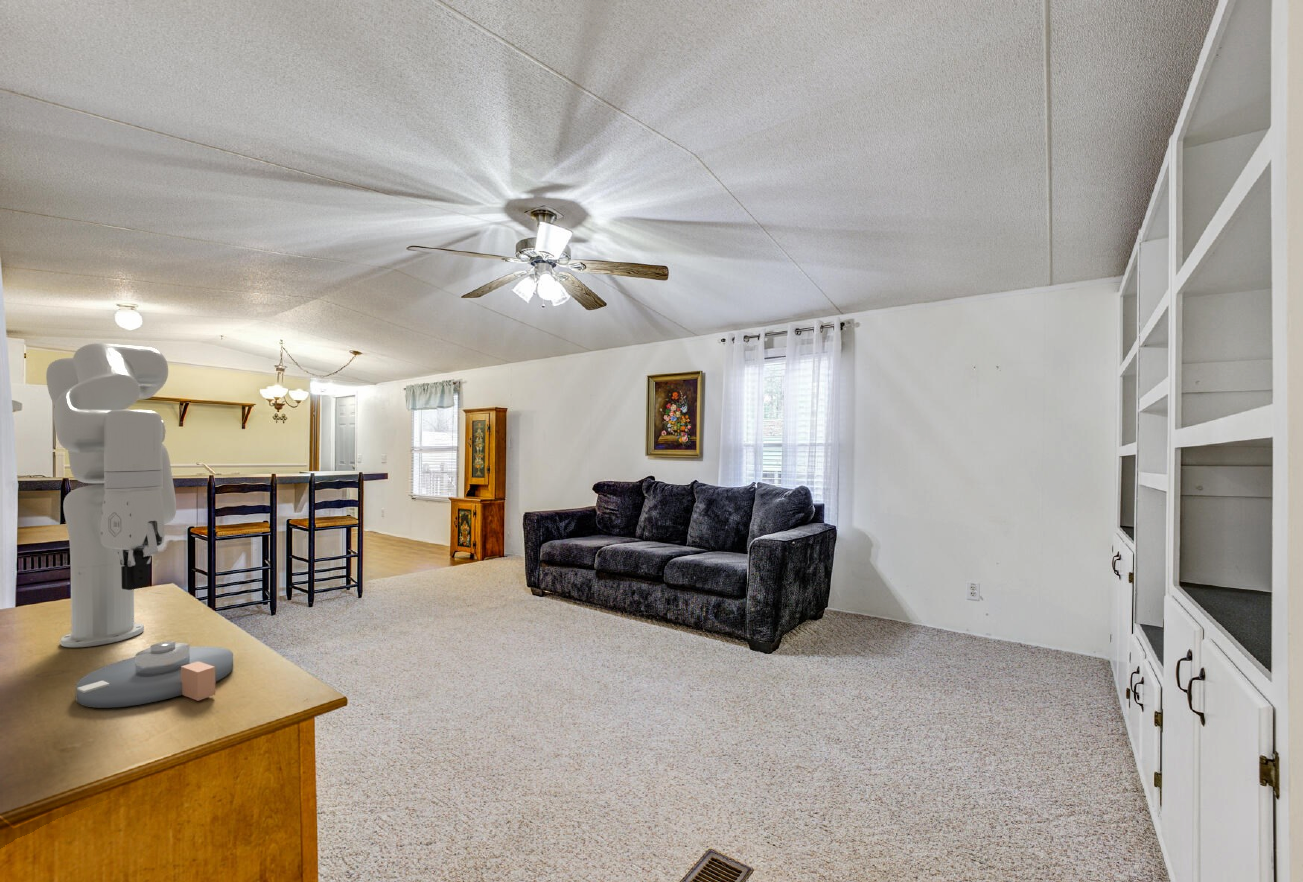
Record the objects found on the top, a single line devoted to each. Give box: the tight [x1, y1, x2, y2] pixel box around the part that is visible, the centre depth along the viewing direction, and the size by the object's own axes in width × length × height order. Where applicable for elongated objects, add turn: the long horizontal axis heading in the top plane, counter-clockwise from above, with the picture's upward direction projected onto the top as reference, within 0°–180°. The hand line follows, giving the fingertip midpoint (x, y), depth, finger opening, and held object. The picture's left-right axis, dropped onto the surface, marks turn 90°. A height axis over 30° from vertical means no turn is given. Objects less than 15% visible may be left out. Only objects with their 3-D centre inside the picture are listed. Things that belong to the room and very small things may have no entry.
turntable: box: [75, 646, 234, 709], centre depth 97 cm, size 25×20×4 cm
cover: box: [134, 640, 191, 677], centre depth 98 cm, size 7×7×4 cm
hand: (135, 587), depth 101 cm, fingers closed
